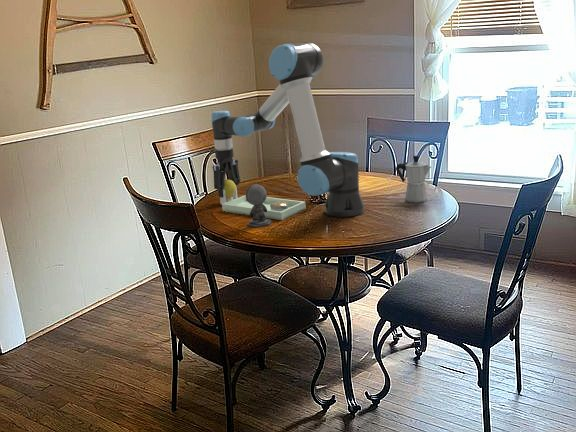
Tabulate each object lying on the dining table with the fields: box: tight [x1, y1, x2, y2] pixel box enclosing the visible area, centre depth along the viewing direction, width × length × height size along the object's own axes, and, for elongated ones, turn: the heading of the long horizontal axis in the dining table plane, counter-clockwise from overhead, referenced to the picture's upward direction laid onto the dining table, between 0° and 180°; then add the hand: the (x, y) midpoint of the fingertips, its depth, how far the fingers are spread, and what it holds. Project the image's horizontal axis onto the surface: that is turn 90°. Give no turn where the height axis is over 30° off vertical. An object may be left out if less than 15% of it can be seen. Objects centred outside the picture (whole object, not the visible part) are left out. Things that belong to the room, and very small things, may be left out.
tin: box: [270, 202, 288, 211], centre depth 229 cm, size 7×7×3 cm
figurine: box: [245, 183, 273, 229], centre depth 215 cm, size 9×10×15 cm
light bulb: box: [220, 179, 236, 202], centre depth 247 cm, size 7×7×10 cm
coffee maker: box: [395, 155, 432, 204], centre depth 232 cm, size 15×9×18 cm, turn 56°
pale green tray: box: [221, 194, 307, 221], centre depth 234 cm, size 30×16×3 cm, turn 54°
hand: (229, 201), depth 248 cm, fingers closed on light bulb, 7 cm apart
